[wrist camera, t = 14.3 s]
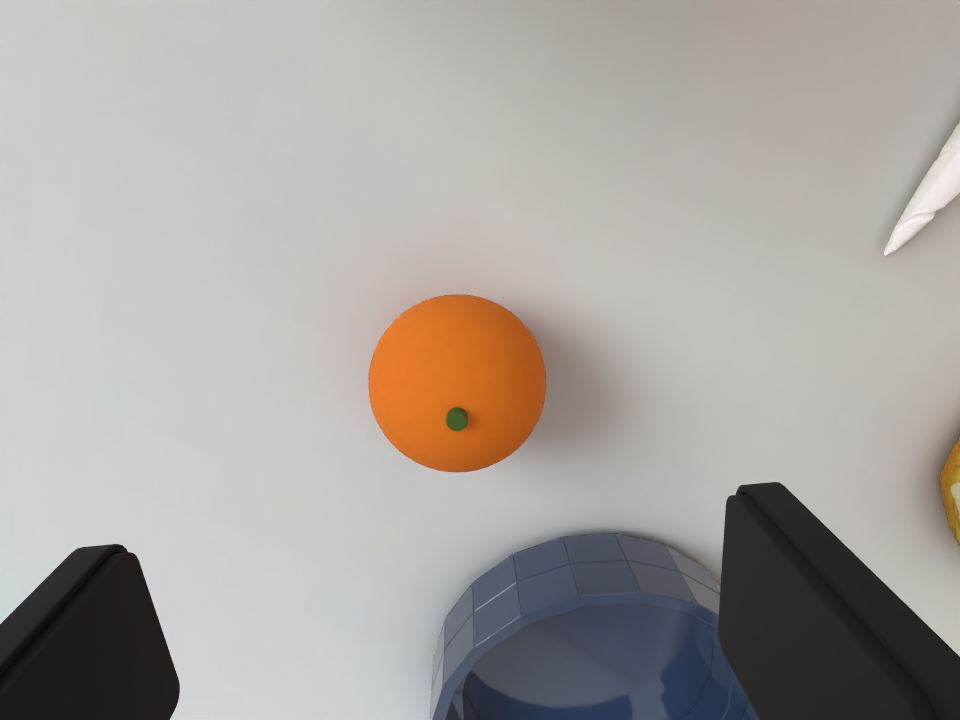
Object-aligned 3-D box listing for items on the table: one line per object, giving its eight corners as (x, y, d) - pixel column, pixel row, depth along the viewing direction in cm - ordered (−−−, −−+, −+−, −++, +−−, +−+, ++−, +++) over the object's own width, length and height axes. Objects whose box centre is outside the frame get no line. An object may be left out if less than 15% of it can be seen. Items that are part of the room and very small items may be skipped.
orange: (367, 406, 26) (332, 489, 19) (401, 262, 24) (375, 294, 17) (510, 440, 27) (527, 532, 20) (553, 302, 25) (589, 350, 18)
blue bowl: (405, 742, 32) (396, 835, 27) (479, 496, 28) (482, 558, 23) (672, 788, 34) (705, 883, 29) (783, 563, 29) (843, 633, 25)
